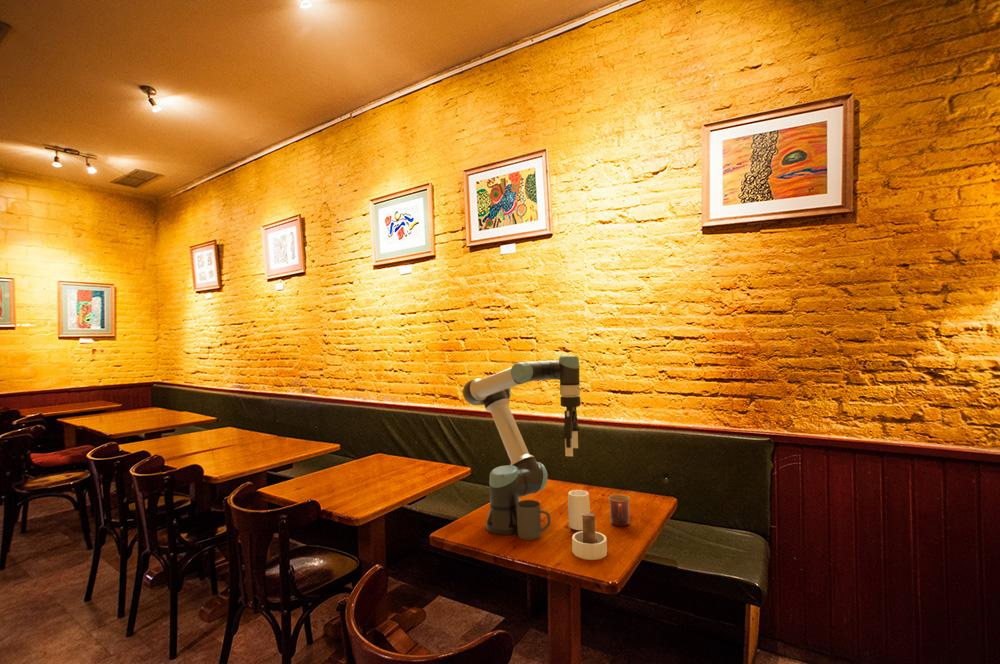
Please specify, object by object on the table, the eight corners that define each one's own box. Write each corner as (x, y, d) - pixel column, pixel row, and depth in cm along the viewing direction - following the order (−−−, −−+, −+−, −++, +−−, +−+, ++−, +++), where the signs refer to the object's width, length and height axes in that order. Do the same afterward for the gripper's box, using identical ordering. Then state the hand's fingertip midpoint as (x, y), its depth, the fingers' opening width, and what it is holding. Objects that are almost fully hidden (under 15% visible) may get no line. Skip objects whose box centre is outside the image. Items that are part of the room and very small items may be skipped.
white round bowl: (570, 557, 159) (570, 542, 159) (575, 543, 170) (575, 529, 170) (605, 561, 155) (604, 546, 155) (607, 546, 166) (607, 532, 166)
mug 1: (513, 537, 176) (512, 505, 177) (524, 529, 184) (523, 498, 185) (545, 544, 169) (544, 511, 170) (556, 535, 177) (555, 503, 178)
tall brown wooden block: (583, 550, 162) (582, 515, 162) (584, 547, 164) (583, 512, 164) (595, 551, 161) (593, 516, 161) (595, 548, 163) (594, 513, 163)
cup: (591, 526, 185) (590, 490, 186) (589, 534, 177) (588, 497, 178) (570, 524, 188) (569, 489, 188) (567, 532, 179) (566, 495, 180)
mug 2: (608, 518, 192) (607, 493, 193) (630, 519, 191) (629, 494, 191) (609, 530, 181) (608, 503, 181) (632, 531, 179) (631, 504, 179)
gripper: (575, 399, 164) (577, 460, 164) (584, 392, 188) (585, 445, 188) (554, 399, 167) (556, 459, 166) (565, 392, 190) (567, 444, 190)
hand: (571, 452), depth 177 cm, fingers open, 13 cm apart
